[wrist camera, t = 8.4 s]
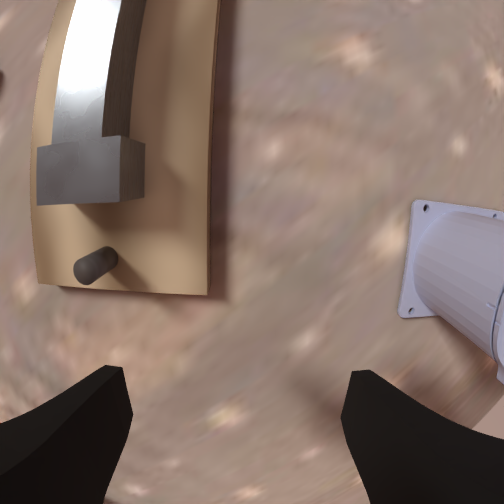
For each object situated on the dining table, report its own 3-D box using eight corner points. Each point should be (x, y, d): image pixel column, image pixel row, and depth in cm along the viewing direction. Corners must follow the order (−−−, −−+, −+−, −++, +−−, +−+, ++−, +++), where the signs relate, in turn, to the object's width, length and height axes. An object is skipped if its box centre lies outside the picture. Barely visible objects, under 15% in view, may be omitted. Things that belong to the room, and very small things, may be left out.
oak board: (232, -96, 12) (230, -128, 7) (210, 286, 19) (199, 317, 14) (101, -74, 11) (84, -99, 7) (49, 277, 19) (12, 298, 14)
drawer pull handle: (178, -73, 11) (170, -101, 8) (144, 197, 16) (119, 202, 13) (116, -60, 11) (101, -84, 8) (70, 200, 16) (36, 205, 13)
